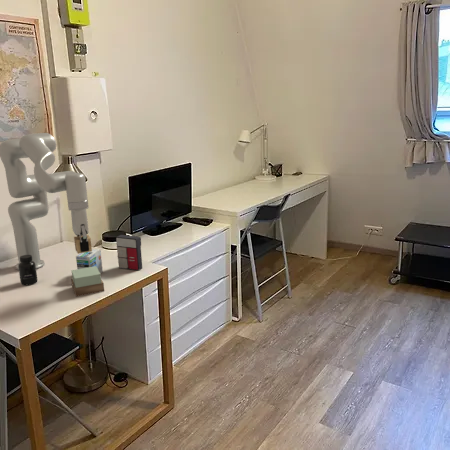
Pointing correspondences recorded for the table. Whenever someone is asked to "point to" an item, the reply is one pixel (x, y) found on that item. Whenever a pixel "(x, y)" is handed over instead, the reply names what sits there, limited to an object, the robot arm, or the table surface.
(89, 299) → the table surface
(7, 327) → the table surface
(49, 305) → the table surface
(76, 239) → the oak cube
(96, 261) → the light bulb box
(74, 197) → the robot arm
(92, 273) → the sage block
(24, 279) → the supplement bottle
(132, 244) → the grey red box
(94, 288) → the walnut block
